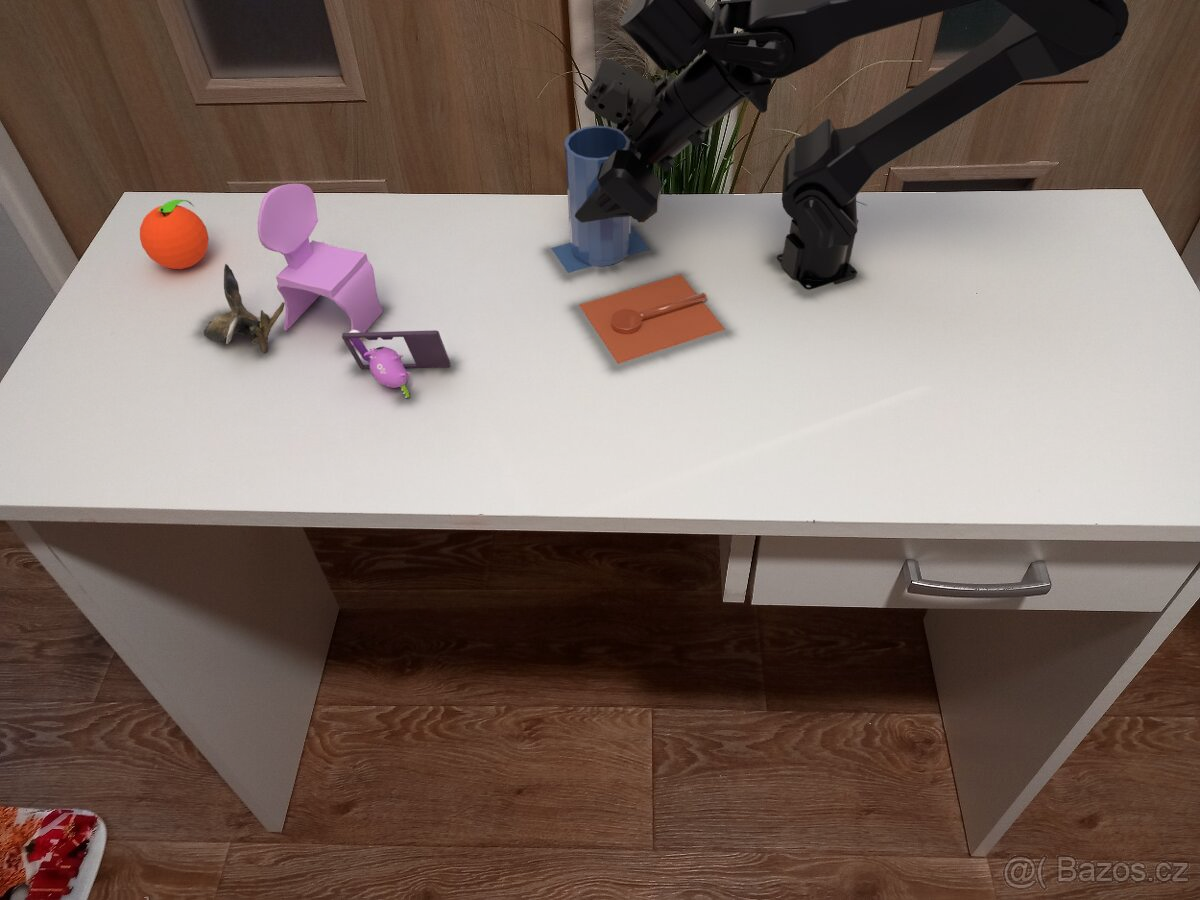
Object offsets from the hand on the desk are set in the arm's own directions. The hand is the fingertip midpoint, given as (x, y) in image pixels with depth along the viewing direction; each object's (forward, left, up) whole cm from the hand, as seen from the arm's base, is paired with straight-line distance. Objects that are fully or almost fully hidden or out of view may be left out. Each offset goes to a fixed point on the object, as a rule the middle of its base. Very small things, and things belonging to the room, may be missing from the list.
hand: (585, 194), depth 96 cm
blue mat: (-1, +1, -7) cm, 7 cm away
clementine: (+42, -18, -8) cm, 46 cm away
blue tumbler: (-1, +1, -7) cm, 7 cm away
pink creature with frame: (+25, +12, -8) cm, 28 cm away
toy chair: (+29, 0, -8) cm, 30 cm away
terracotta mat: (-1, +14, -7) cm, 16 cm away
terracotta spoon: (-2, +14, -7) cm, 16 cm away
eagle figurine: (+38, -2, -8) cm, 39 cm away
